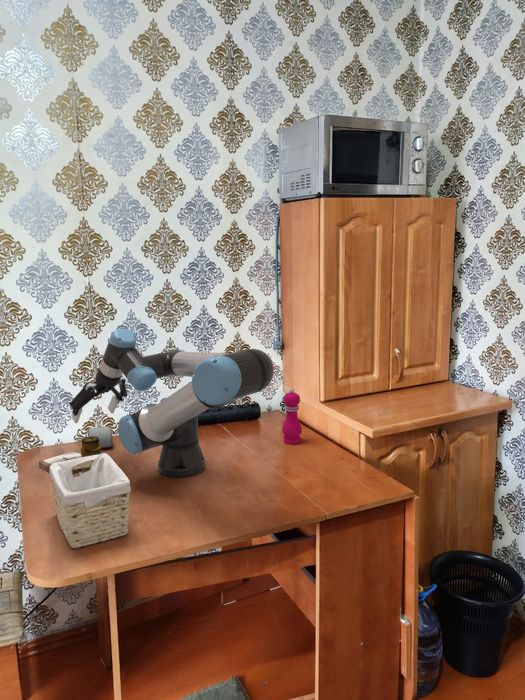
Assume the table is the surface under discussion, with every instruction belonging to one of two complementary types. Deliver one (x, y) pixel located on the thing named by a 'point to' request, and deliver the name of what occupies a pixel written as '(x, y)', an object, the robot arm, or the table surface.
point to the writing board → (60, 460)
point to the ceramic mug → (102, 436)
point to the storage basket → (91, 499)
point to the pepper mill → (291, 418)
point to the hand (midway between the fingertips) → (92, 415)
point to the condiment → (89, 449)
